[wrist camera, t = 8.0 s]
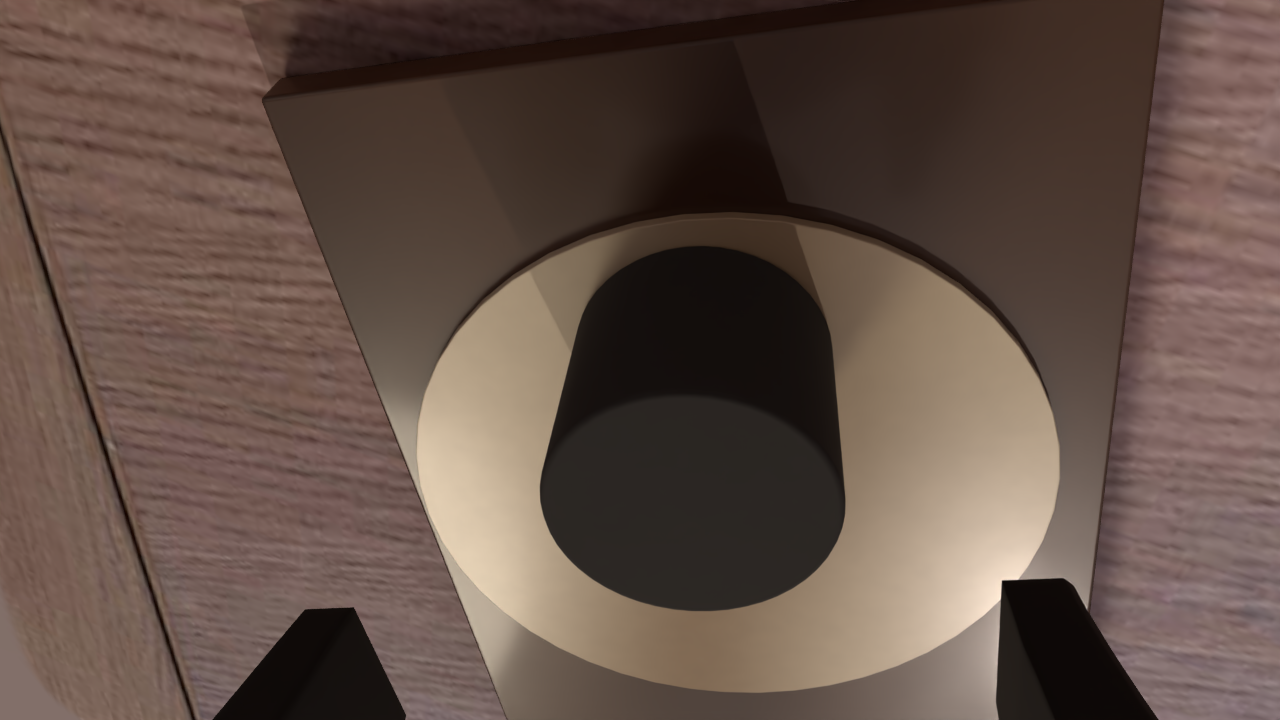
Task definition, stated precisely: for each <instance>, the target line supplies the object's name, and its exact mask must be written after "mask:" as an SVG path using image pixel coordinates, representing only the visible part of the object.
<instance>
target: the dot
mask: <svg viewBox="0 0 1280 720" xmlns="http://www.w3.org/2000/svg"><path fill="white" fill-rule="evenodd" d="M540 503H541V508H542V512H543V516H544V519H545V522H546V524H547V527H548V529H549V532H550V534H551V535H552V537H553V539H554V541H555V542H556V544H557V546H558V547H559V548H560V549H561V551H562V552H563V553H564V554H565V556H566V557H567V558H568V559H569V560H570V561H571V562H572V563H573V564H574V565H575V566H576V567H577V568H578V569H579V570H581V571H582V572H583V573H585V574H586V575H587V576H588V577H590V578H591V579H593V580H594V581H596V582H597V583H599V584H601V585H602V586H604V587H606V588H608V589H610V590H612V591H614V592H616V593H618V594H620V595H622V596H625V597H627V598H630V599H633V600H635V601H638V602H642V603H645V604H649V605H653V606H657V607H662V608H668V609H673V610H684V611H720V610H730V609H736V608H741V607H746V606H750V605H754V604H757V603H761V602H764V601H767V600H769V599H772V598H774V597H777V596H779V595H781V594H783V593H785V592H787V591H789V590H791V589H793V588H794V587H796V586H797V585H799V584H800V583H802V582H803V581H805V580H806V579H807V578H808V577H809V576H811V575H812V574H813V573H814V572H815V571H816V570H817V569H818V568H819V567H820V566H821V565H822V564H823V562H824V561H825V560H826V559H827V558H828V556H829V554H830V553H831V551H832V550H833V548H834V546H835V545H836V543H837V541H838V538H839V536H840V533H841V531H842V528H843V523H844V518H845V508H846V497H845V486H844V474H843V463H842V451H841V440H840V428H839V417H838V405H837V393H836V382H835V370H834V359H833V348H832V341H831V335H830V331H829V328H828V325H827V322H826V320H825V318H824V316H823V314H822V312H821V310H820V308H819V306H818V305H817V304H816V302H815V301H814V299H813V298H812V297H811V295H810V294H809V293H808V292H807V291H806V290H805V289H804V288H803V287H802V286H801V285H800V284H799V283H798V282H797V281H796V280H795V279H793V278H792V277H791V276H790V275H788V274H787V273H786V272H784V271H783V270H781V269H779V268H778V267H776V266H775V265H773V264H771V263H769V262H767V261H765V260H763V259H760V258H758V257H756V256H753V255H750V254H747V253H744V252H740V251H737V250H731V249H726V248H721V247H708V246H693V247H681V248H674V249H668V250H664V251H661V252H657V253H654V254H650V255H648V256H646V257H643V258H641V259H638V260H636V261H634V262H633V263H631V264H629V265H627V266H626V267H624V268H622V269H621V270H619V271H618V272H617V273H615V274H614V275H613V276H611V277H610V278H609V279H608V280H607V281H606V282H605V283H604V284H603V285H602V286H601V287H600V288H599V289H598V290H597V291H596V292H595V294H594V295H593V297H592V298H591V299H590V301H589V302H588V304H587V306H586V308H585V310H584V312H583V314H582V317H581V320H580V323H579V326H578V329H577V333H576V337H575V341H574V345H573V349H572V353H571V357H570V361H569V365H568V369H567V373H566V377H565V381H564V385H563V389H562V393H561V397H560V401H559V405H558V409H557V413H556V417H555V421H554V425H553V429H552V433H551V437H550V441H549V445H548V449H547V453H546V457H545V461H544V465H543V469H542V473H541V480H540Z"/></svg>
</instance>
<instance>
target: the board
mask: <svg viewBox="0 0 1280 720" xmlns="http://www.w3.org/2000/svg"><path fill="white" fill-rule="evenodd" d="M1163 6H1164V0H858V1H850V2H843V3H835V4H828V5H821V6H813V7H806V8H798V9H791V10H784V11H776V12H769V13H761V14H754V15H747V16H739V17H732V18H724V19H717V20H710V21H702V22H695V23H687V24H680V25H673V26H665V27H658V28H650V29H643V30H636V31H628V32H621V33H613V34H606V35H599V36H591V37H584V38H576V39H569V40H562V41H554V42H547V43H539V44H532V45H525V46H517V47H510V48H502V49H495V50H488V51H480V52H473V53H465V54H458V55H451V56H443V57H436V58H428V59H421V60H414V61H406V62H399V63H391V64H384V65H377V66H369V67H362V68H354V69H347V70H340V71H332V72H325V73H317V74H310V75H303V76H295V77H288V78H282V79H280V80H279V81H278V82H277V83H276V84H275V85H274V86H273V87H272V88H271V89H270V90H269V91H268V92H267V93H266V95H265V96H264V97H263V98H262V103H263V105H264V108H265V110H266V113H267V116H268V118H269V121H270V123H271V126H272V128H273V131H274V133H275V136H276V138H277V141H278V143H279V146H280V148H281V151H282V153H283V156H284V158H285V161H286V164H287V166H288V169H289V171H290V174H291V176H292V179H293V181H294V184H295V186H296V189H297V191H298V194H299V196H300V199H301V201H302V204H303V206H304V209H305V211H306V214H307V217H308V219H309V222H310V224H311V227H312V229H313V232H314V234H315V237H316V239H317V242H318V244H319V247H320V249H321V252H322V254H323V257H324V259H325V262H326V264H327V267H328V270H329V272H330V275H331V277H332V280H333V282H334V285H335V287H336V290H337V292H338V295H339V297H340V300H341V302H342V305H343V307H344V310H345V312H346V315H347V317H348V320H349V323H350V325H351V328H352V330H353V333H354V335H355V338H356V340H357V343H358V345H359V348H360V350H361V353H362V355H363V358H364V360H365V363H366V365H367V368H368V370H369V373H370V376H371V378H372V381H373V383H374V386H375V388H376V391H377V393H378V396H379V398H380V401H381V403H382V406H383V408H384V411H385V413H386V416H387V418H388V421H389V423H390V426H391V429H392V431H393V434H394V436H395V439H396V441H397V444H398V446H399V449H400V451H401V454H402V456H403V459H404V461H405V464H406V466H407V469H408V471H409V474H410V476H411V479H412V482H413V484H414V487H415V489H416V492H417V494H418V497H419V499H420V502H421V504H422V507H423V509H424V512H425V514H426V517H427V519H428V522H429V524H430V527H431V529H432V532H433V535H434V537H435V540H436V542H437V545H438V547H439V550H440V552H441V555H442V557H443V560H444V562H445V565H446V567H447V570H448V572H449V575H450V577H451V580H452V583H453V585H454V588H455V590H456V593H457V595H458V598H459V600H460V603H461V605H462V608H463V610H464V613H465V615H466V618H467V620H468V623H469V625H470V628H471V630H472V633H473V636H474V638H475V641H476V643H477V646H478V648H479V651H480V653H481V656H482V658H483V661H484V663H485V666H486V668H487V671H488V673H489V676H490V678H491V681H492V683H493V686H494V689H495V691H496V694H497V696H498V699H499V701H500V704H501V706H502V709H503V711H504V714H505V716H506V719H507V720H999V718H998V712H997V706H996V688H997V668H998V647H999V627H1000V606H1001V586H1002V580H1026V579H1050V578H1064V579H1066V580H1067V581H1068V582H1070V583H1071V584H1072V585H1074V587H1075V589H1076V590H1077V592H1078V594H1079V596H1080V598H1081V600H1082V601H1083V603H1084V605H1085V607H1086V608H1087V610H1088V612H1089V614H1090V607H1091V599H1092V591H1093V582H1094V574H1095V566H1096V558H1097V549H1098V541H1099V533H1100V525H1101V517H1102V508H1103V500H1104V492H1105V484H1106V475H1107V467H1108V459H1109V451H1110V442H1111V434H1112V426H1113V418H1114V410H1115V401H1116V393H1117V385H1118V377H1119V368H1120V360H1121V352H1122V344H1123V335H1124V327H1125V319H1126V311H1127V303H1128V294H1129V286H1130V278H1131V270H1132V261H1133V253H1134V245H1135V237H1136V228H1137V220H1138V212H1139V204H1140V196H1141V187H1142V179H1143V171H1144V163H1145V154H1146V146H1147V138H1148V130H1149V121H1150V113H1151V105H1152V97H1153V89H1154V80H1155V72H1156V64H1157V56H1158V47H1159V39H1160V31H1161V23H1162V14H1163ZM693 246H708V247H721V248H726V249H731V250H737V251H740V252H744V253H747V254H750V255H753V256H756V257H758V258H760V259H763V260H765V261H767V262H769V263H771V264H773V265H775V266H776V267H778V268H779V269H781V270H783V271H784V272H786V273H787V274H788V275H790V276H791V277H792V278H793V279H795V280H796V281H797V282H798V283H799V284H800V285H801V286H802V287H803V288H804V289H805V290H806V291H807V292H808V293H809V294H810V295H811V297H812V298H813V299H814V301H815V302H816V304H817V305H818V306H819V308H820V310H821V312H822V314H823V316H824V318H825V320H826V322H827V325H828V328H829V331H830V335H831V341H832V348H833V359H834V370H835V382H836V393H837V405H838V417H839V428H840V440H841V451H842V463H843V474H844V486H845V497H846V508H845V518H844V523H843V528H842V531H841V533H840V536H839V538H838V541H837V543H836V545H835V546H834V548H833V550H832V551H831V553H830V554H829V556H828V558H827V559H826V560H825V561H824V562H823V564H822V565H821V566H820V567H819V568H818V569H817V570H816V571H815V572H814V573H813V574H812V575H811V576H809V577H808V578H807V579H806V580H805V581H803V582H802V583H800V584H799V585H797V586H796V587H794V588H793V589H791V590H789V591H787V592H785V593H783V594H781V595H779V596H777V597H774V598H772V599H769V600H767V601H764V602H761V603H757V604H754V605H750V606H746V607H741V608H736V609H730V610H720V611H684V610H673V609H668V608H662V607H657V606H653V605H649V604H645V603H642V602H638V601H635V600H633V599H630V598H627V597H625V596H622V595H620V594H618V593H616V592H614V591H612V590H610V589H608V588H606V587H604V586H602V585H601V584H599V583H597V582H596V581H594V580H593V579H591V578H590V577H588V576H587V575H586V574H585V573H583V572H582V571H581V570H579V569H578V568H577V567H576V566H575V565H574V564H573V563H572V562H571V561H570V560H569V559H568V558H567V557H566V556H565V554H564V553H563V552H562V551H561V549H560V548H559V547H558V546H557V544H556V542H555V541H554V539H553V537H552V535H551V534H550V532H549V529H548V527H547V524H546V522H545V519H544V516H543V512H542V508H541V503H540V480H541V473H542V469H543V465H544V461H545V457H546V453H547V449H548V445H549V441H550V437H551V433H552V429H553V425H554V421H555V417H556V413H557V409H558V405H559V401H560V397H561V393H562V389H563V385H564V381H565V377H566V373H567V369H568V365H569V361H570V357H571V353H572V349H573V345H574V341H575V337H576V333H577V329H578V326H579V323H580V320H581V317H582V314H583V312H584V310H585V308H586V306H587V304H588V302H589V301H590V299H591V298H592V297H593V295H594V294H595V292H596V291H597V290H598V289H599V288H600V287H601V286H602V285H603V284H604V283H605V282H606V281H607V280H608V279H609V278H610V277H611V276H613V275H614V274H615V273H617V272H618V271H619V270H621V269H622V268H624V267H626V266H627V265H629V264H631V263H633V262H634V261H636V260H638V259H641V258H643V257H646V256H648V255H650V254H654V253H657V252H661V251H664V250H668V249H674V248H681V247H693Z"/></svg>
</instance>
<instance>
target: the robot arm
mask: <svg viewBox="0 0 1280 720" xmlns="http://www.w3.org/2000/svg"><path fill="white" fill-rule="evenodd" d="M996 706H997V712H998V718H999V720H1158V718H1157V717H1156V715H1155V714H1154V713H1153V711H1152V710H1151V708H1150V707H1149V705H1148V704H1147V703H1146V701H1145V700H1144V698H1143V697H1142V695H1141V694H1140V692H1139V691H1138V689H1137V688H1136V686H1135V685H1134V683H1133V682H1132V680H1131V679H1130V677H1129V676H1128V674H1127V673H1126V671H1125V670H1124V668H1123V667H1122V665H1121V664H1120V662H1119V661H1118V659H1117V658H1116V656H1115V654H1114V653H1113V651H1112V650H1111V648H1110V647H1109V645H1108V643H1107V642H1106V640H1105V639H1104V637H1103V635H1102V634H1101V632H1100V630H1099V629H1098V627H1097V626H1096V624H1095V622H1094V620H1093V619H1092V617H1091V615H1090V614H1089V612H1088V610H1087V608H1086V607H1085V605H1084V603H1083V601H1082V600H1081V598H1080V596H1079V594H1078V592H1077V590H1076V589H1075V587H1074V585H1072V584H1071V583H1070V582H1068V581H1067V580H1066V579H1064V578H1050V579H1026V580H1002V586H1001V606H1000V627H999V647H998V668H997V688H996ZM405 718H406V714H405V712H404V710H403V708H402V706H401V704H400V702H399V700H398V698H397V696H396V693H395V691H394V689H393V687H392V685H391V683H390V681H389V679H388V677H387V675H386V673H385V671H384V669H383V667H382V665H381V663H380V660H379V658H378V656H377V654H376V652H375V650H374V648H373V646H372V644H371V642H370V640H369V638H368V636H367V634H366V632H365V630H364V628H363V625H362V623H361V621H360V619H359V617H358V615H357V613H356V611H355V609H354V607H352V608H328V609H305V610H304V611H303V613H302V614H301V615H300V616H299V617H298V618H297V620H296V621H295V622H294V623H293V624H292V625H291V627H290V628H289V629H288V630H287V631H286V632H285V634H284V635H283V636H282V637H281V638H280V640H279V641H278V642H277V643H276V644H275V646H274V647H273V648H272V649H271V650H270V651H269V653H268V654H267V655H266V656H265V657H264V659H263V660H262V661H261V662H260V663H259V665H258V666H257V667H256V668H255V669H254V671H253V672H252V673H251V674H250V675H249V677H248V678H247V679H246V680H245V681H244V683H243V684H242V685H241V686H240V687H239V689H238V690H237V691H236V692H235V693H234V695H233V696H232V697H231V698H230V699H229V701H228V702H227V703H226V704H225V705H224V707H223V708H222V709H221V710H220V711H219V713H218V714H217V715H216V716H215V717H214V719H213V720H405Z"/></svg>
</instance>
